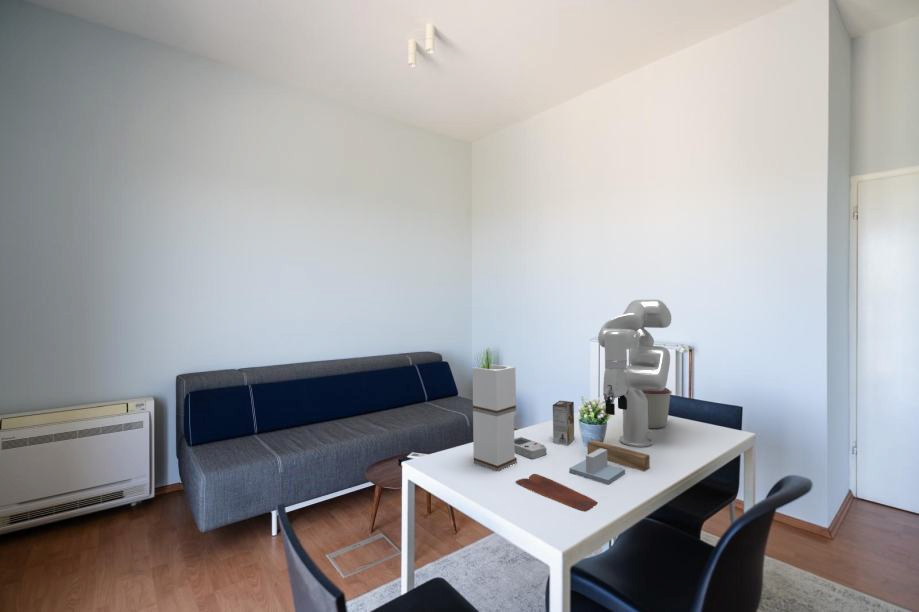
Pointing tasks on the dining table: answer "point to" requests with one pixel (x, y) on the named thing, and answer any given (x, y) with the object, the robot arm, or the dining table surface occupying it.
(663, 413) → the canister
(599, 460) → the ridge stand
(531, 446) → the handheld gaming device
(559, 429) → the coffee box
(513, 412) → the tall square planter
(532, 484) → the wooden tablet
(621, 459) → the walnut batten
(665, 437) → the dining table surface
